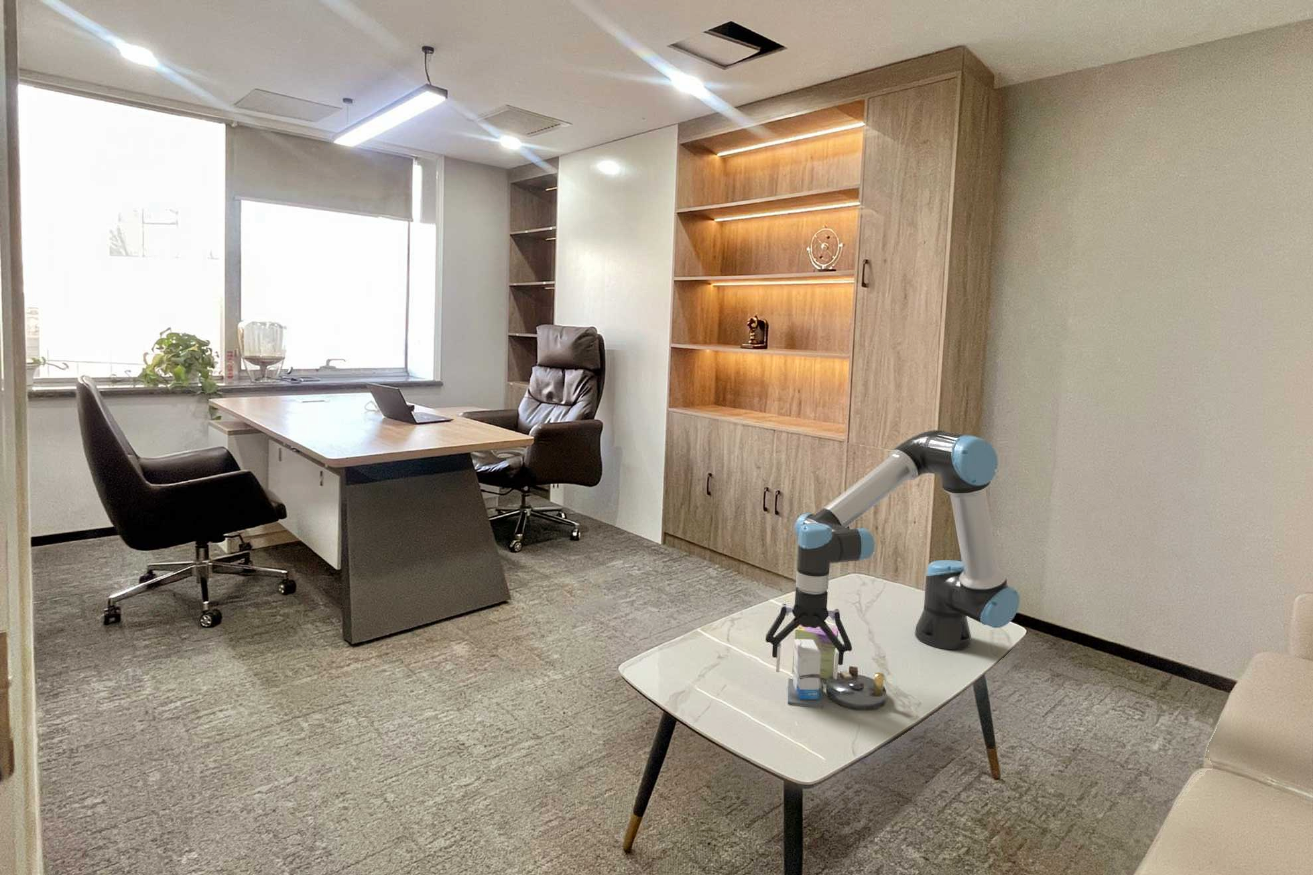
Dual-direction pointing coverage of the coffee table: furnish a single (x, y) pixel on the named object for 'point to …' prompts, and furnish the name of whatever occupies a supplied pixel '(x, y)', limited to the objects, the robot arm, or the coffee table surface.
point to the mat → (795, 700)
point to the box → (820, 647)
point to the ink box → (806, 669)
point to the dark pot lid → (857, 690)
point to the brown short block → (853, 670)
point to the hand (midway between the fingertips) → (806, 673)
